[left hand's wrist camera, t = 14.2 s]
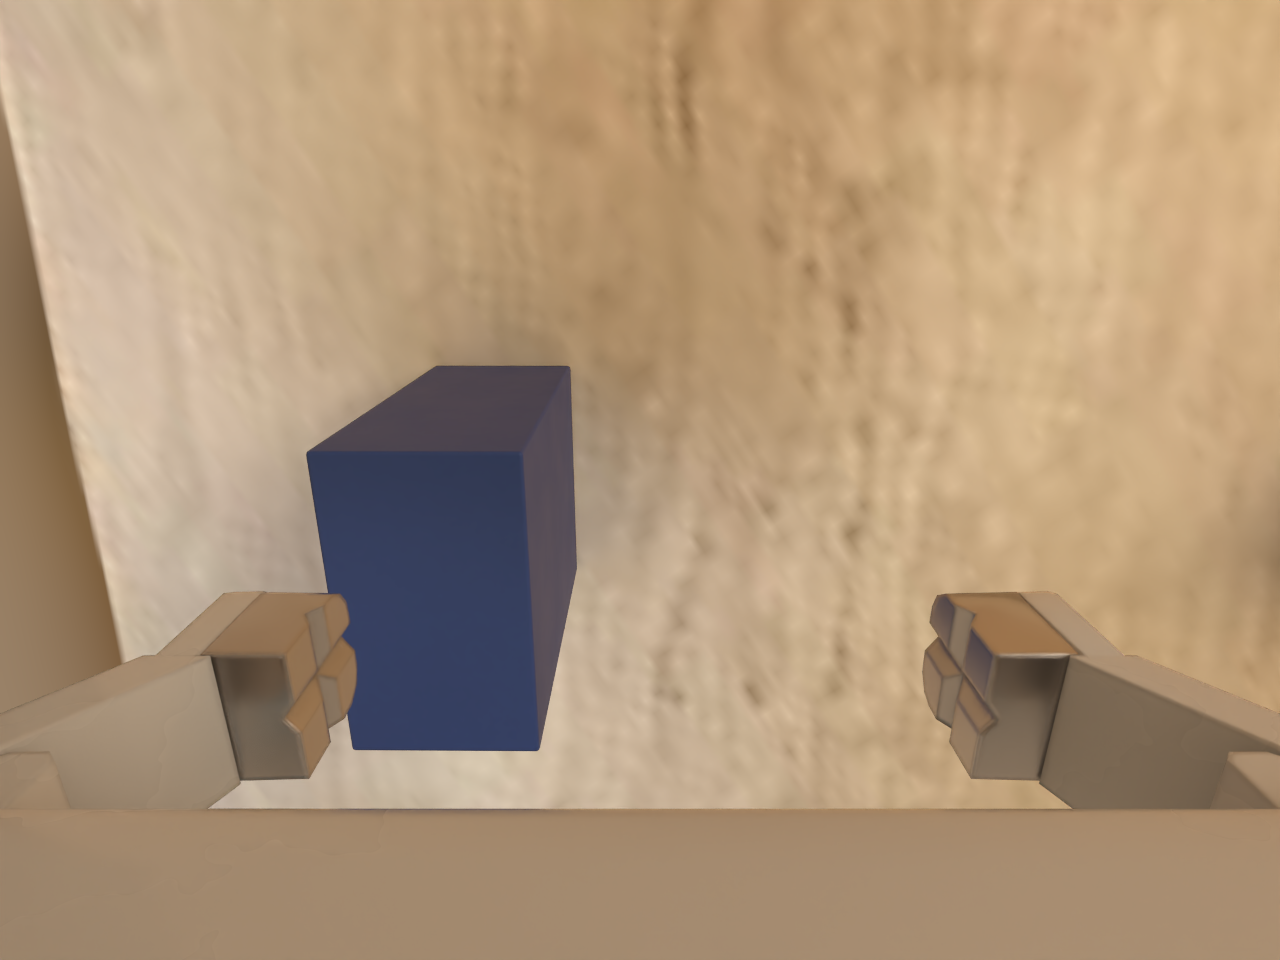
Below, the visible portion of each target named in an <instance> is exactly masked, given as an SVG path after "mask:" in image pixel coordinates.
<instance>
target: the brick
mask: <svg viewBox="0 0 1280 960" xmlns="http://www.w3.org/2000/svg"><path fill="white" fill-rule="evenodd" d="M306 456H307V463H308V469H309V475H310V482H311V488H312V494H313V500H314V507H315V513H316V519H317V526H318V532H319V538H320V545H321V551H322V557H323V564H324V570H325V576H326V582H327V589H328V593H340V594H341V596H342V597H343V598H344V599H345V600H346V602H347V607H348V612H349V617H350V622H351V623H350V624H349V626H348V627H347V629H346V630H345V632H344V633H343V635H342V637H343V638H344V639H345V640H346V642H347V643H348V644H349V645H350V646H351V647H352V648H353V649H354V650H355V653H356V660H357V686H356V690H355V694H354V698H353V702H352V705H351V707H350V709H349V711H348V712H347V715H348V721H349V728H350V734H351V740H352V747H353V749H354V750H447V751H538V750H539V748H540V744H541V739H542V734H543V730H544V725H545V720H546V715H547V710H548V705H549V700H550V696H551V691H552V686H553V681H554V676H555V671H556V667H557V662H558V657H559V652H560V647H561V642H562V637H563V633H564V628H565V623H566V618H567V613H568V608H569V604H570V599H571V594H572V589H573V584H574V579H575V575H576V570H577V563H576V532H575V501H574V471H573V440H572V409H571V378H570V367H568V366H436V367H434V368H433V369H431V370H430V371H428V372H427V373H425V374H424V375H422V376H420V377H419V378H417V379H416V380H414V381H413V382H411V383H410V384H408V385H407V386H405V387H404V388H402V389H401V390H399V391H398V392H396V393H395V394H393V395H392V396H390V397H389V398H387V399H386V400H384V401H383V402H381V403H380V404H378V405H377V406H375V407H374V408H372V409H371V410H369V411H368V412H366V413H365V414H363V415H362V416H360V417H359V418H357V419H356V420H354V421H353V422H351V423H350V424H348V425H347V426H345V427H344V428H342V429H341V430H339V431H338V432H336V433H335V434H333V435H332V436H330V437H329V438H327V439H326V440H324V441H323V442H321V443H320V444H318V445H317V446H315V447H314V448H312V449H311V450H309V451H308V452H307V454H306Z"/></svg>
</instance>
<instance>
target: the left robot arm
mask: <svg viewBox="0 0 1280 960" xmlns="http://www.w3.org/2000/svg"><path fill="white" fill-rule="evenodd" d="M350 623H351V622H350V617H349V612H348V607H347V602H346V600H345V599H344V598H343V597H342V596H341V594H340V593H287V592H268V593H267V592H264V591H258V592H231V593H224V594H223V595H221V596H220V597H219V598H218V599H217V600H216V601H215V602H214V603H213V604H212V605H210V606H209V607H208V608H207V609H206V610H205V611H204V612H203V613H202V614H201V615H199V616H198V617H197V618H196V619H195V620H194V621H193V622H192V623H191V624H190V625H188V626H187V627H186V628H185V629H184V630H183V631H182V632H181V633H180V634H179V635H178V636H176V637H175V638H174V639H173V640H172V641H171V642H170V643H169V644H168V645H167V646H165V647H164V648H163V649H162V650H161V651H160V652H159V653H158V654H157V655H151V656H141V657H139V658H136V659H134V660H131V661H129V662H126V663H124V664H121V665H119V666H116V667H114V668H111V669H109V670H106V671H104V672H102V673H99V674H97V675H94V676H92V677H89V678H87V679H84V680H82V681H79V682H77V683H75V684H72V685H70V686H67V687H65V688H62V689H60V690H57V691H55V692H52V693H50V694H47V695H45V696H42V697H40V698H38V699H35V700H33V701H30V702H28V703H25V704H23V705H20V706H18V707H15V708H13V709H10V710H8V711H5V712H3V713H0V960H1280V714H1279V713H1277V712H1274V711H1272V710H1269V709H1267V708H1264V707H1262V706H1259V705H1257V704H1255V703H1252V702H1250V701H1247V700H1245V699H1242V698H1240V697H1237V696H1235V695H1232V694H1230V693H1228V692H1225V691H1223V690H1220V689H1218V688H1215V687H1213V686H1210V685H1208V684H1205V683H1203V682H1200V681H1198V680H1196V679H1193V678H1191V677H1188V676H1186V675H1183V674H1181V673H1178V672H1176V671H1173V670H1171V669H1169V668H1166V667H1164V666H1161V665H1159V664H1156V663H1154V662H1151V661H1149V660H1146V659H1144V658H1141V657H1139V656H1130V655H1123V654H1122V653H1121V652H1120V651H1119V650H1118V649H1117V648H1116V647H1115V646H1114V645H1112V644H1111V643H1110V642H1109V641H1108V640H1107V639H1106V638H1105V637H1104V636H1103V635H1102V634H1100V633H1099V632H1098V631H1097V630H1096V629H1095V628H1094V627H1093V626H1092V625H1091V624H1089V623H1088V622H1087V621H1086V620H1085V619H1084V618H1083V617H1082V616H1081V615H1080V614H1079V613H1077V612H1076V611H1075V610H1074V609H1073V608H1072V607H1071V606H1070V605H1069V604H1068V603H1067V602H1065V601H1064V600H1063V599H1062V598H1061V597H1060V596H1059V595H1058V594H1055V593H1052V592H1048V591H1041V592H998V593H956V594H942V595H937V597H936V599H935V601H934V603H933V606H932V611H931V616H930V624H931V626H932V627H933V629H934V630H935V632H936V633H937V635H938V637H937V638H936V639H935V640H934V642H933V643H932V644H931V645H930V646H929V647H928V648H927V649H926V650H925V654H924V662H923V671H922V673H923V684H924V692H925V695H926V699H927V702H928V705H929V707H930V709H931V711H932V713H933V714H934V716H935V718H936V719H937V720H939V721H940V722H942V723H943V724H945V725H947V726H948V727H950V728H951V735H950V741H949V742H950V744H951V746H952V747H953V749H954V751H955V752H956V754H957V756H958V757H959V759H960V761H961V763H962V764H963V766H964V768H965V769H966V771H967V773H968V774H969V776H970V778H971V779H1002V780H1039V781H1040V782H1039V784H1041V785H1042V786H1043V787H1045V788H1046V789H1047V790H1049V791H1050V792H1051V793H1053V794H1054V795H1055V796H1057V797H1058V798H1059V799H1061V800H1062V801H1063V802H1065V803H1066V804H1067V805H1069V806H1070V807H1071V808H1073V809H208V808H209V807H210V806H212V805H213V804H214V803H216V802H217V801H218V800H220V799H221V798H222V797H224V796H225V795H226V794H228V793H229V792H230V791H232V790H233V789H234V788H236V787H237V786H238V785H240V783H241V782H240V781H241V780H277V779H309V778H310V776H311V775H312V773H313V771H314V769H315V768H316V766H317V764H318V763H319V761H320V759H321V758H322V756H323V754H324V752H325V751H326V749H327V747H328V746H329V744H330V742H331V741H330V735H329V728H330V727H332V726H333V725H335V724H337V723H338V722H340V721H341V720H343V719H344V718H345V716H346V714H347V712H348V711H349V709H350V707H351V705H352V702H353V698H354V694H355V690H356V686H357V660H356V653H355V650H354V649H353V648H352V647H351V646H350V645H349V644H348V643H347V642H346V640H345V639H344V638H343V637H342V635H343V633H344V632H345V630H346V629H347V627H348V626H349V624H350Z"/></svg>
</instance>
